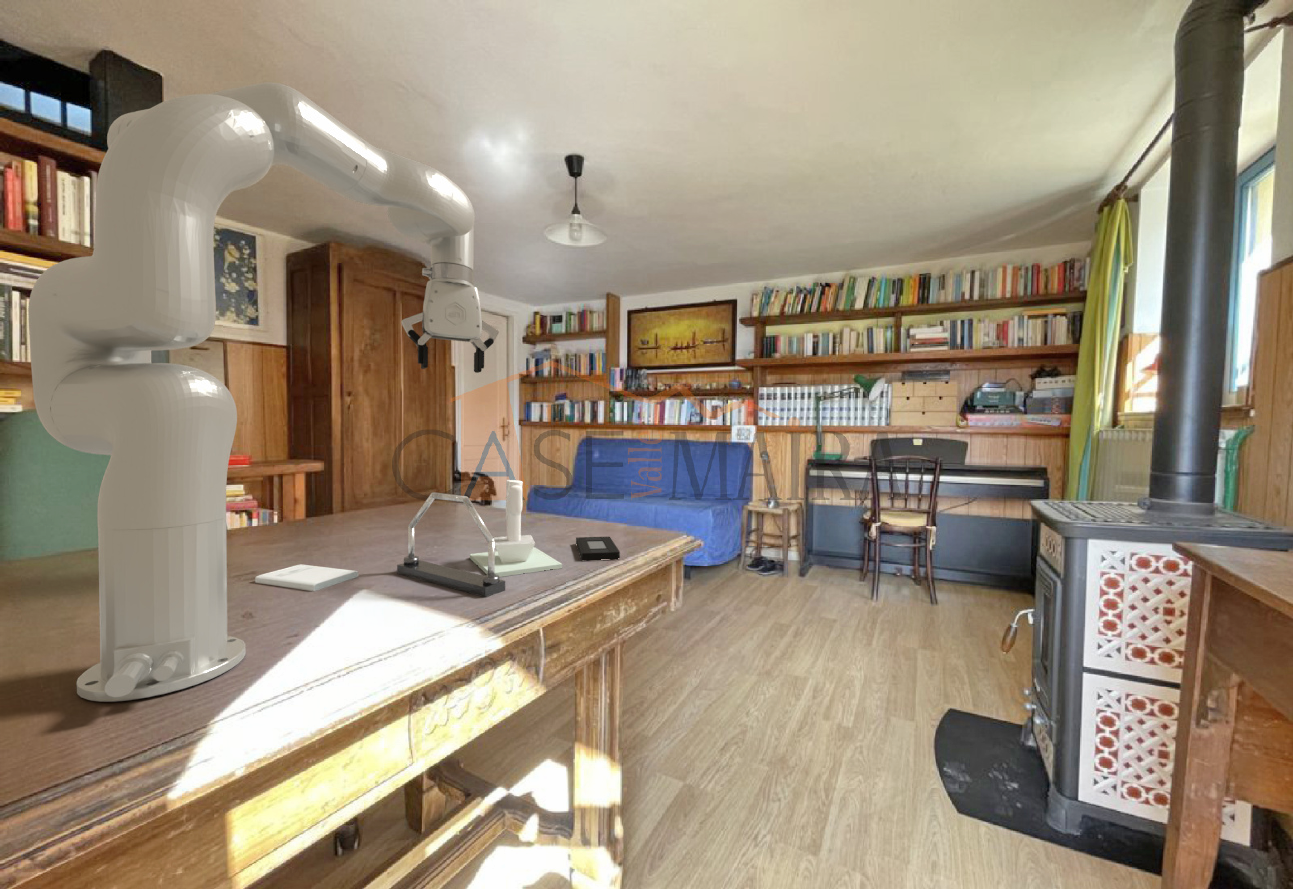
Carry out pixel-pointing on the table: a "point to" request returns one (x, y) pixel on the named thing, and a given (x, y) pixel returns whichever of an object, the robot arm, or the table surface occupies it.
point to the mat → (517, 563)
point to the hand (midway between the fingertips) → (451, 370)
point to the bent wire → (446, 574)
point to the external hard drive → (306, 577)
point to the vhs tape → (597, 548)
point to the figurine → (514, 528)
